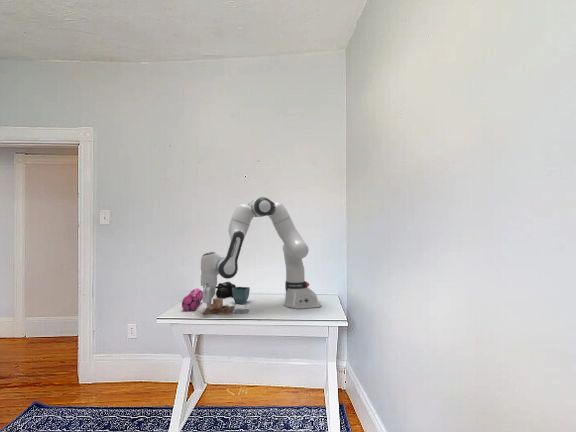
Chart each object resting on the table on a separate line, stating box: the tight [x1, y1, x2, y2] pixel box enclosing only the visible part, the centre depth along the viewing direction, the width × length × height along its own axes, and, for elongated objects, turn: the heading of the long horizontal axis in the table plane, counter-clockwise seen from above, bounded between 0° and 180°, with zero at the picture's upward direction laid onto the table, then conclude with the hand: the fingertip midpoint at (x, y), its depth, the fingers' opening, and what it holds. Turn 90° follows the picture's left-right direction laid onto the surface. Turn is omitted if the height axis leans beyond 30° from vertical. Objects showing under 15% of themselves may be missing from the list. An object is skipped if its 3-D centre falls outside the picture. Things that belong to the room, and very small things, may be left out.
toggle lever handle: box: [209, 297, 224, 310], centre depth 194 cm, size 10×5×6 cm, turn 160°
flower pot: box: [232, 286, 251, 305], centre depth 215 cm, size 9×9×9 cm
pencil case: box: [181, 288, 203, 312], centre depth 205 cm, size 21×10×10 cm, turn 6°
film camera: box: [215, 281, 237, 299], centre depth 231 cm, size 18×12×10 cm
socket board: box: [202, 304, 236, 315], centre depth 197 cm, size 16×16×2 cm
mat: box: [233, 308, 250, 315], centre depth 194 cm, size 8×8×1 cm
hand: (209, 307), depth 192 cm, fingers closed
